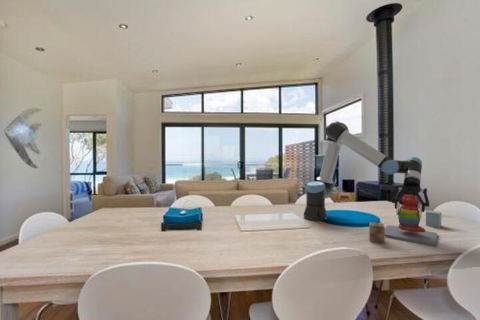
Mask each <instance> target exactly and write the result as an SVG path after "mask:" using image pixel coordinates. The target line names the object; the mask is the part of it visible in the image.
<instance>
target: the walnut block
mask: <svg viewBox="0 0 480 320" xmlns="http://www.w3.org/2000/svg"><path fill="white" fill-rule="evenodd" d="M368 228H369V230H368V234H369V235H368V237H369V242H370V243H375V244H383V245H385V241H386V240H385V238H386V237H385V228H386V226H385V225H384V223H382V222H380V223H379V222H372V221H371V222H369V226H368Z"/></svg>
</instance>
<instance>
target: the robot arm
mask: <svg viewBox="0 0 480 320" xmlns="http://www.w3.org/2000/svg"><path fill="white" fill-rule="evenodd" d="M324 133H325V136H326V140H325V141H326V142H327V146H326V149H325V153H324V157H323V161H322V166H321V169H320V172H319V176H317V177H316V179H315V181H309V182H308V183H307V184H306V188H305V190H306V191H305V194H306V200H305V201H306V204H305V205H306V206H305V209H304V212H303V218H304V219H306V220H309V221H317V222H323V219H325V218H327V217H329V215H328V212H327V209H326V199H329V198H330V197H331V196H332V195H333V193H334V187H333V186H334V184H335V183H334V181H333V178H334V174H335V170H336V167H337V163H338V159H339V154H340V152H341V147H342V146H343V145H344V146H345V147H347V148H349V149H350V150H351V151H353V152H354V153H356V154H358V155H359V156H360V157H361V158H362V157H363V158H364V159H365V160H366V161H368V162H369V163H371V164H373V165H374V166H376V167H377V168H378V169H379V170H381V172H383V173H385V174H387V175H395V174H403V175H404V176H403V183H402V184H403V185H402V187H399V186H396V187H395V191H394V193H393V195H392V197H391V203H392V204H394V209H395V211H396V212H395V213H396V216H398V214H399V209H400V207H401V205H400V202H402V198H403V197H404V194H407V195H414V196H415V197H416V198H417V199H418V200H419V203H418V204H419V208H418V209H419V218H420V219H422V215H423V214H422V213H425V212H426V210H425V208H426V207H427V208H429V207H430V200H429V197H428V188H421V180H422V179H421V178H422V170H423V168H422V167H423V162H422V159H420V158H419V157H417V156H416V157H415V156H412V157H411V156H410V157H408V158H406V160H398V159H393V158H391V157H388V156H387V155H386V154H384V153H382V152H381V151H379V150H377V149H376V148H374V147H373V146H372V145H369V144H368V143H367V142H365V141H363V140H361V138H359V137H357V136H355V135H354V134H352V133H350V130H349V127H348V126H347V124H345V123H343V122H340V121H338V120H331V121H329V122H328V123H327V124H325V127H324ZM401 191H402V193H401V194H400V192H401ZM420 192H421V194H423V198H422V197H421V196H420V194H419V193H420ZM398 195H399V196H398ZM423 199H424V200H423Z"/></svg>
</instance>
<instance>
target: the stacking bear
mask: <svg viewBox="0 0 480 320" xmlns="http://www.w3.org/2000/svg"><path fill="white" fill-rule="evenodd" d="M401 202H402V205H400V207H399V214H398V215H397V217H398V218H397V219H398V223H399V224H398V225H397V227H399V228H400V229H402V230H405V231H411V232H425V231H426V229H425V228H424V227H422V226H420V225H419V224H420V223H421V218H419V209H420V208H419V207H418V205H419V204H420V203H419V200H418V199H417V198H416V197H415V195H407V194H404V197H403V198H402V200H401Z"/></svg>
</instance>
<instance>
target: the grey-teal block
mask: <svg viewBox="0 0 480 320" xmlns="http://www.w3.org/2000/svg"><path fill="white" fill-rule="evenodd" d="M425 226H427V227H433V228H434V227H435V228H440V227H442V211H436V210H427V211H425Z"/></svg>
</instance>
